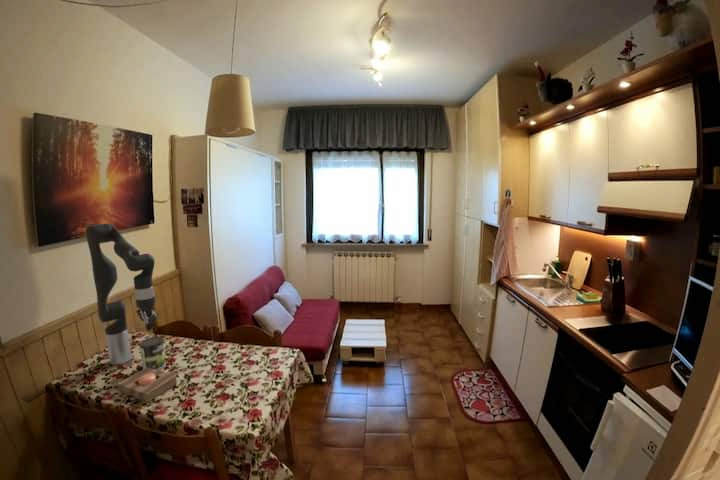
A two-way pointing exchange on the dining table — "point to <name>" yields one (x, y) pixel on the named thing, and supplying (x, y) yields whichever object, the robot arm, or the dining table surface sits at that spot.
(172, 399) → the dining table surface
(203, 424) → the dining table surface
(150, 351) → the coffee can
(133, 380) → the wooden board
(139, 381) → the pink flattened oval
